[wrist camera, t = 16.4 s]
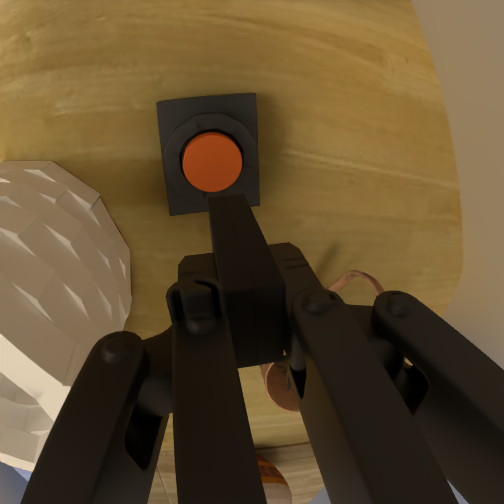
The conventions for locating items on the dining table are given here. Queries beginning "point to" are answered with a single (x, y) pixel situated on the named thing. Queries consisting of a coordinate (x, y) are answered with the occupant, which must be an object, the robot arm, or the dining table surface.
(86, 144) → the dining table surface
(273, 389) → the mug
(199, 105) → the button base
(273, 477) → the jug
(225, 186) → the button
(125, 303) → the basket
